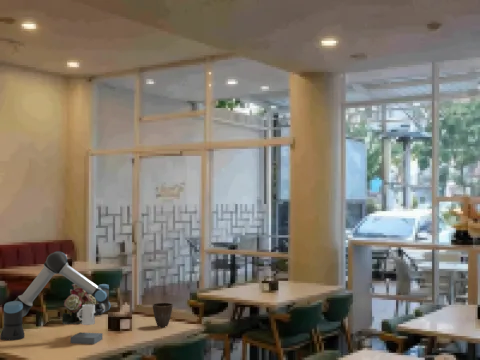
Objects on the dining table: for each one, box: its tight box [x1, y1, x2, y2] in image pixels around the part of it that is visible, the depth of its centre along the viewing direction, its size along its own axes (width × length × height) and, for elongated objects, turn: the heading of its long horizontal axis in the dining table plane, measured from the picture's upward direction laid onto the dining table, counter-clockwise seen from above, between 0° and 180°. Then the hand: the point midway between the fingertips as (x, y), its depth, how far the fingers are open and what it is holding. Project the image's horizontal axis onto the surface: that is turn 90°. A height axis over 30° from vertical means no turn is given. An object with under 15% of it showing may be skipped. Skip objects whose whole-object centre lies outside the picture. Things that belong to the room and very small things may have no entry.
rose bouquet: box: [61, 283, 97, 325], centre depth 450 cm, size 26×29×30 cm
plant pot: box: [152, 302, 173, 328], centre depth 434 cm, size 15×15×16 cm
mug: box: [78, 304, 96, 326], centre depth 383 cm, size 12×8×12 cm
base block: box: [70, 332, 103, 345], centre depth 382 cm, size 16×14×4 cm
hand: (84, 315), depth 378 cm, fingers closed on mug, 9 cm apart
